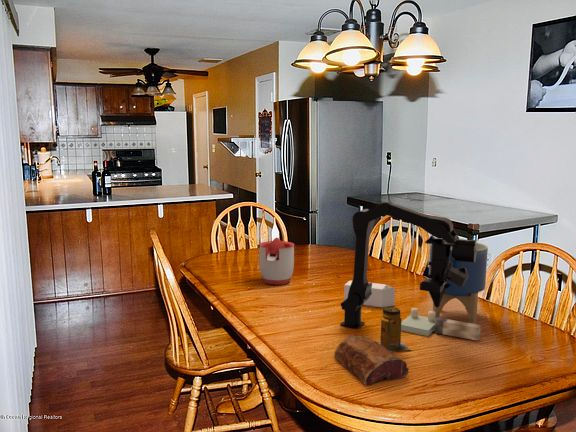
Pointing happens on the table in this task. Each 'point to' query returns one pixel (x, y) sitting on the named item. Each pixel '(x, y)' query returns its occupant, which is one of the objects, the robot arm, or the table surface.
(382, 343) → the condiment
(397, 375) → the cured meat
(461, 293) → the planter
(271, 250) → the citrus juicer
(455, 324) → the leg
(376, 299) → the milk carton
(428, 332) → the stool seat
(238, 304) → the table surface
